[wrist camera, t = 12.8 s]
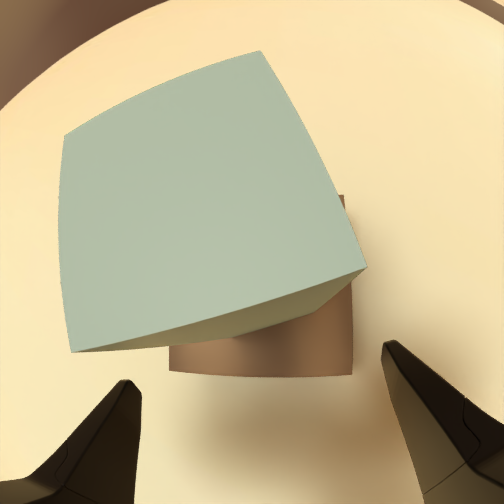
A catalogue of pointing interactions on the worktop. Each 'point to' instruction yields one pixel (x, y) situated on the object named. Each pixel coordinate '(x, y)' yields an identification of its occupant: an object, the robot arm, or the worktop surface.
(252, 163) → the tall block
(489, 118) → the worktop surface
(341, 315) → the base brick
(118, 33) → the worktop surface
